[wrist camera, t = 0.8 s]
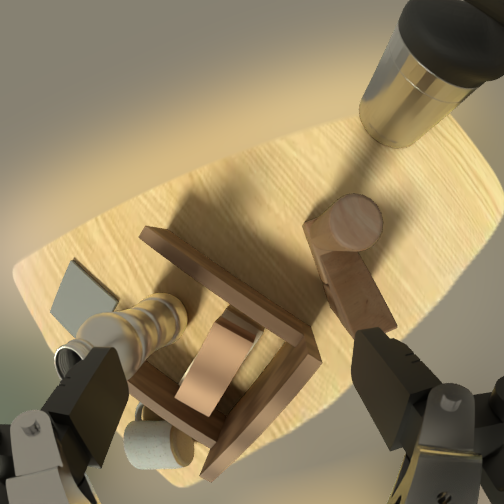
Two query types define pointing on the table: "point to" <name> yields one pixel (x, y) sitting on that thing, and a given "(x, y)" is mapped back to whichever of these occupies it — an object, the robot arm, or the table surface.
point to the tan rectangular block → (218, 360)
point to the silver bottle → (127, 333)
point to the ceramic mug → (156, 444)
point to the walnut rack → (263, 389)
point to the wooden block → (349, 262)
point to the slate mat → (80, 299)
